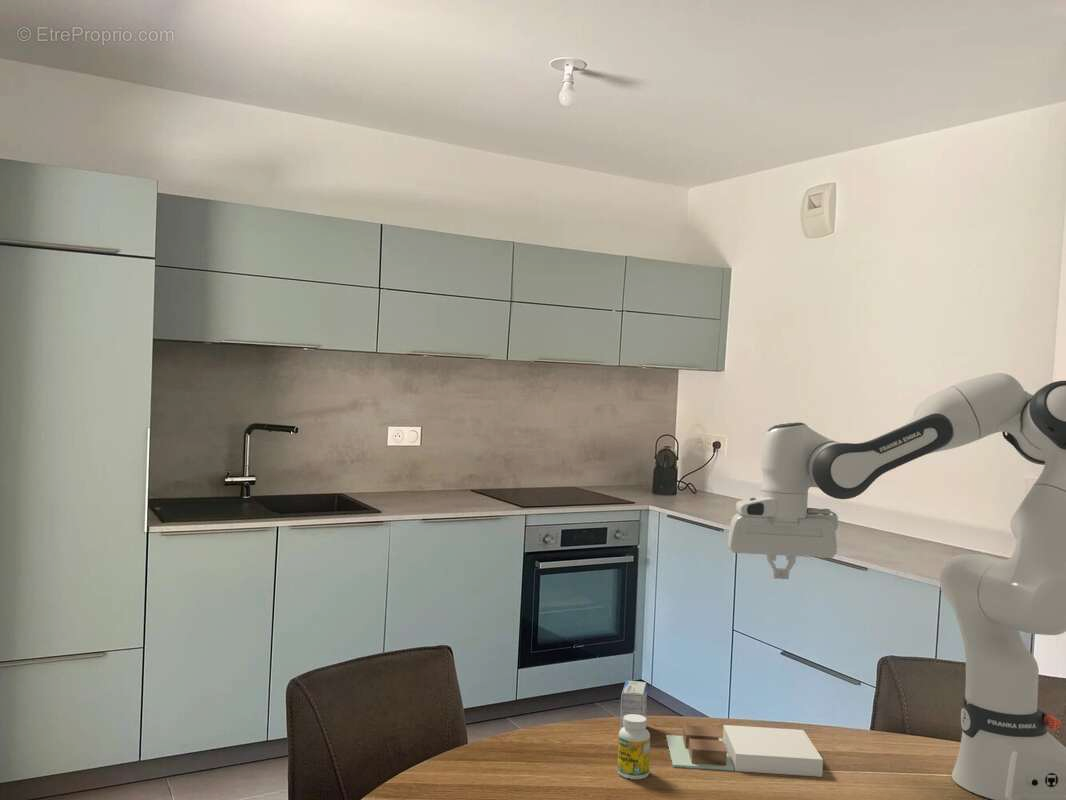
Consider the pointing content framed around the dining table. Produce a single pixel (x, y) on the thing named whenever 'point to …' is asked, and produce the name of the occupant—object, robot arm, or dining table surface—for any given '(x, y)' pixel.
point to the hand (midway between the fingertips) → (780, 578)
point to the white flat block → (772, 751)
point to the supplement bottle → (634, 747)
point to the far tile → (698, 733)
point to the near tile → (707, 752)
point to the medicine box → (633, 699)
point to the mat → (682, 756)
